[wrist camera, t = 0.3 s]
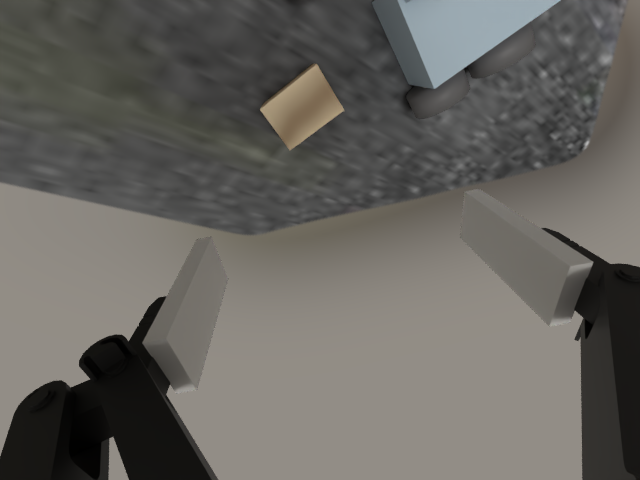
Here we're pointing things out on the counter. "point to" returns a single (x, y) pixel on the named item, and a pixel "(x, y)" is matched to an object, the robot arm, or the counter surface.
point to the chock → (302, 107)
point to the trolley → (455, 43)
